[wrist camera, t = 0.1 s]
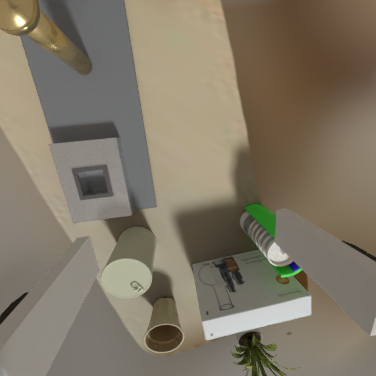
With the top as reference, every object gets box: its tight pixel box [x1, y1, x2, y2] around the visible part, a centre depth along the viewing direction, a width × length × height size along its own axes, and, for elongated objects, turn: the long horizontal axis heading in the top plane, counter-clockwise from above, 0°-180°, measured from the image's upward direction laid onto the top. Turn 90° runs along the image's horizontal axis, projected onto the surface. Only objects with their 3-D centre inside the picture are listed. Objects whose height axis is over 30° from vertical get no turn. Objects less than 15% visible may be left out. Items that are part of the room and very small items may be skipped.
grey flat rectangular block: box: [49, 138, 135, 223], centre depth 36 cm, size 16×12×3 cm
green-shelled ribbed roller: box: [240, 204, 302, 278], centre depth 36 cm, size 9×8×18 cm
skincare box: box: [192, 249, 311, 340], centre depth 40 cm, size 21×5×16 cm, turn 100°
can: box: [101, 227, 156, 299], centre depth 37 cm, size 9×9×12 cm
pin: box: [0, 0, 92, 75], centre depth 24 cm, size 5×5×16 cm
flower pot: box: [144, 298, 184, 353], centre depth 45 cm, size 9×9×9 cm
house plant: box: [231, 328, 297, 376], centre depth 46 cm, size 14×14×16 cm
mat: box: [20, 0, 157, 210], centre depth 34 cm, size 39×18×1 cm, turn 5°
